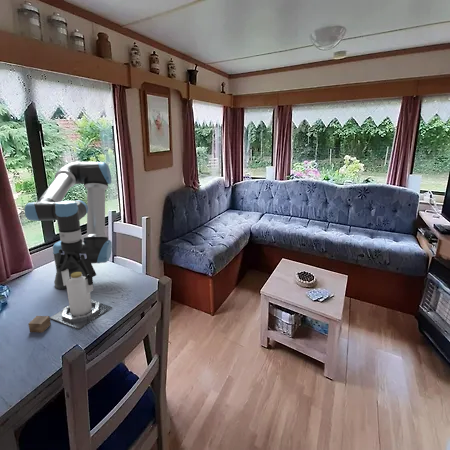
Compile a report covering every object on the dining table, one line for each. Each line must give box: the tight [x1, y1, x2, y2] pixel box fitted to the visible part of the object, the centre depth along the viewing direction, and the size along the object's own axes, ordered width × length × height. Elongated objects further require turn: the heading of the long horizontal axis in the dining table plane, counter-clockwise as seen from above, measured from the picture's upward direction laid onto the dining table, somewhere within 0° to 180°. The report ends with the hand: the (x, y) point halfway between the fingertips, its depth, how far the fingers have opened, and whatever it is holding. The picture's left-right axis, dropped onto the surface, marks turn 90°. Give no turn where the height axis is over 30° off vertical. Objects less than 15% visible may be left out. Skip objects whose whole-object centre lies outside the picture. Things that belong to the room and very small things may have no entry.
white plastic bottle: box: [66, 272, 92, 316], centre depth 116 cm, size 8×8×18 cm
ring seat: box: [49, 299, 113, 331], centre depth 118 cm, size 17×17×2 cm
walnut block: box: [27, 315, 51, 334], centre depth 108 cm, size 5×5×4 cm
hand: (78, 287), depth 115 cm, fingers open, 13 cm apart
